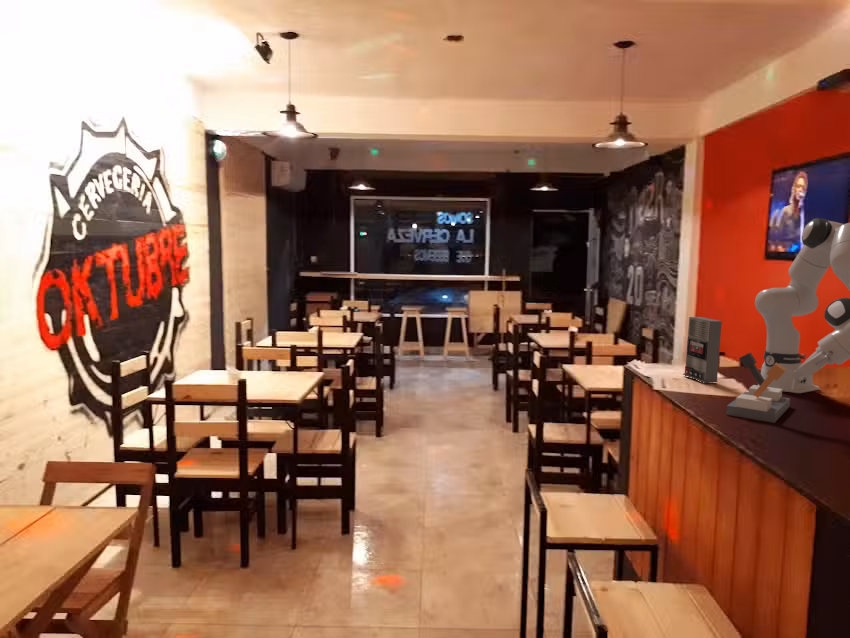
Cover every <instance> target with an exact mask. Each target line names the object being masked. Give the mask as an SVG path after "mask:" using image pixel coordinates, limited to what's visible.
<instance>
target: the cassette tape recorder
mask: <svg viewBox="0 0 850 638" xmlns="http://www.w3.org/2000/svg"><path fill="white" fill-rule="evenodd" d="M722 325H723V321H722V320H718V319H714V318H713V319H712V318H708V317H702V316H689V317H688V328H687V329H688V330H687V331H688V332H687V341H686V343H687V344H686V356H685V366H684V373H683V375H685V376H689V377H692V378H694V379H697V380H699V381H701V382H700V383H702V382H704V383H706V384H709V383H708V382H717V383H718V373H719V360H720V349H721V335H722V334H721V333H722ZM685 376H684V377H685ZM699 381H698V382H699ZM704 383H703V384H704Z"/></svg>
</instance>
